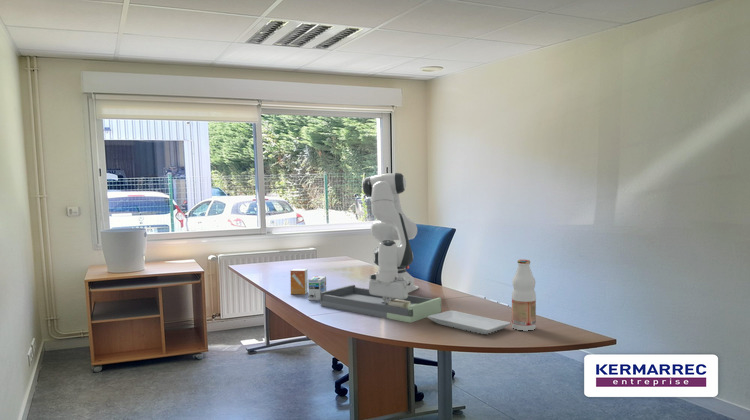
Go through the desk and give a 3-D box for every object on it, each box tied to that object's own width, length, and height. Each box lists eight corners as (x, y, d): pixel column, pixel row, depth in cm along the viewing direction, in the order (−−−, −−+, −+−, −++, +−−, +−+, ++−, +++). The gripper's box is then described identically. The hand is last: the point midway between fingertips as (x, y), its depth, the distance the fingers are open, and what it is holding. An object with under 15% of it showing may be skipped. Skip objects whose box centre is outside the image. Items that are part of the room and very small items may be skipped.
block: (396, 307, 256) (396, 299, 255) (410, 310, 250) (410, 301, 250) (388, 310, 251) (388, 301, 251) (402, 312, 246) (402, 303, 246)
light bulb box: (320, 300, 284) (320, 279, 283) (308, 300, 285) (307, 279, 284) (326, 296, 294) (326, 276, 293) (314, 296, 295) (314, 275, 295)
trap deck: (353, 297, 291) (353, 284, 291) (441, 311, 257) (441, 297, 257) (320, 305, 273) (320, 292, 272) (410, 322, 239) (410, 307, 238)
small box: (290, 294, 300) (290, 270, 299) (293, 292, 306) (292, 268, 305) (305, 294, 299) (304, 270, 298) (308, 292, 305) (307, 268, 305)
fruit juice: (515, 332, 223) (515, 262, 221) (508, 325, 232) (508, 258, 230) (539, 331, 223) (539, 261, 222) (531, 325, 233) (531, 258, 231)
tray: (450, 317, 249) (450, 309, 249) (512, 330, 227) (512, 321, 226) (425, 324, 238) (425, 316, 238) (487, 338, 215) (487, 329, 215)
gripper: (410, 277, 250) (410, 308, 250) (375, 273, 263) (375, 302, 263) (402, 279, 245) (402, 311, 246) (366, 275, 258) (366, 304, 259)
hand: (388, 306), depth 255 cm, fingers closed
